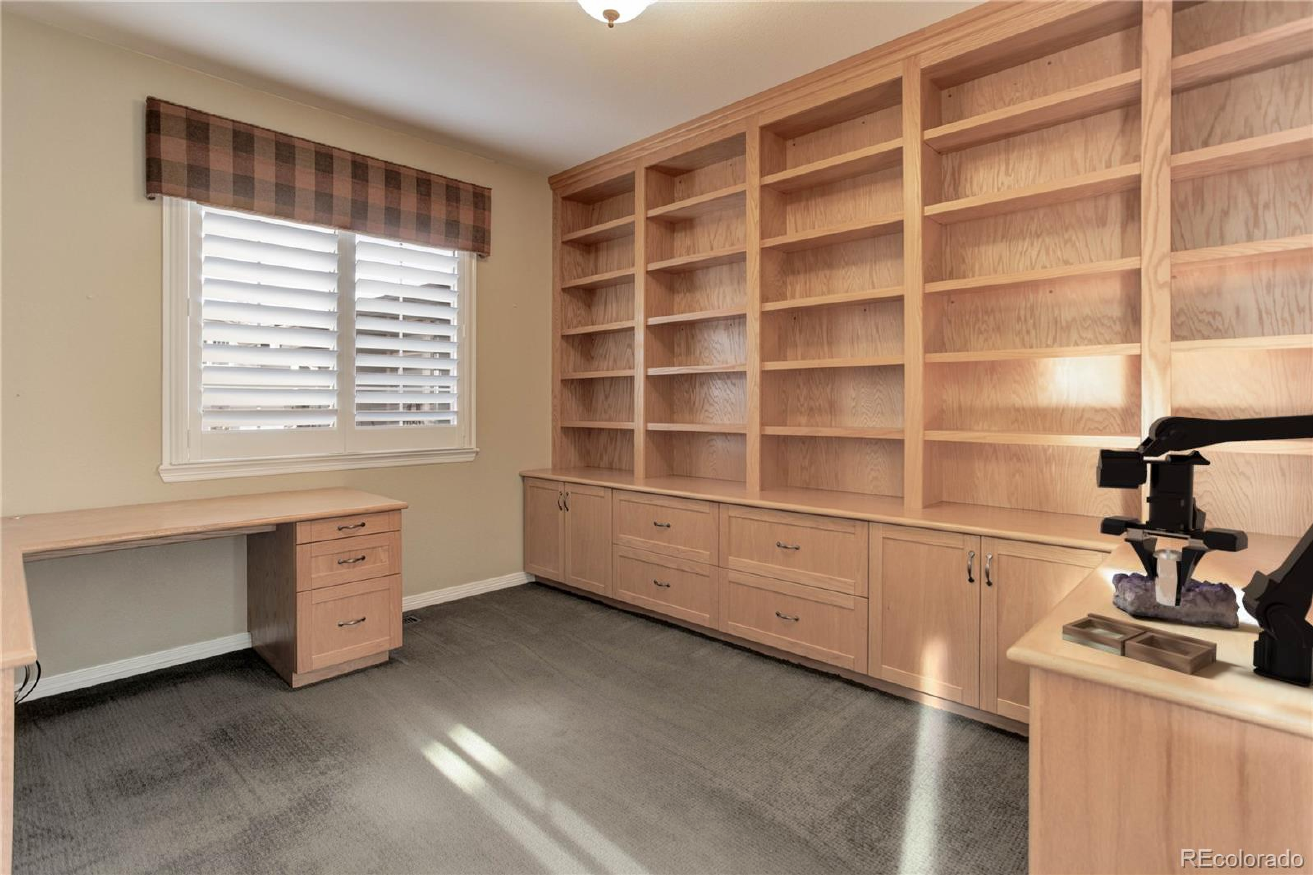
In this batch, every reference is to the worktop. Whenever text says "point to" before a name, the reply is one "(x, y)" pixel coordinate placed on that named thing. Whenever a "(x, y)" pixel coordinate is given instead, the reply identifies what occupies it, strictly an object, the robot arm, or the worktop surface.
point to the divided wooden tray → (1141, 643)
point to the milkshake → (1168, 576)
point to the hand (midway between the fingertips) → (1168, 583)
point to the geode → (1196, 604)
